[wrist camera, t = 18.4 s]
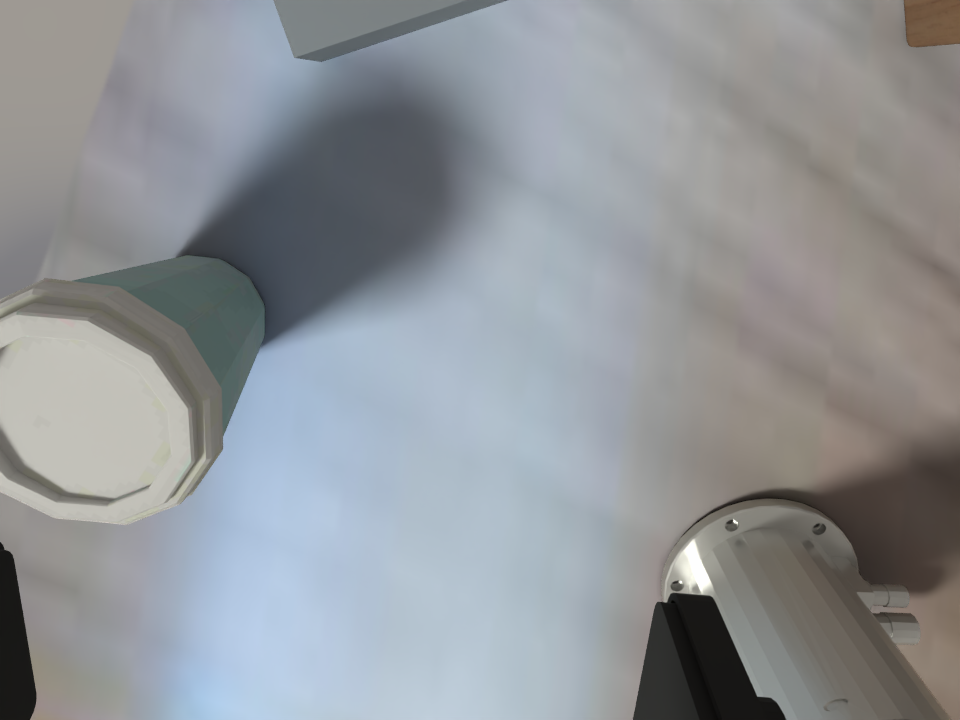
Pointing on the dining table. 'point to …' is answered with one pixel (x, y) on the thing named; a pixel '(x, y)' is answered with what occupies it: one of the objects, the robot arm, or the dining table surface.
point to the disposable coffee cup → (122, 385)
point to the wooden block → (932, 22)
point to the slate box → (361, 22)
